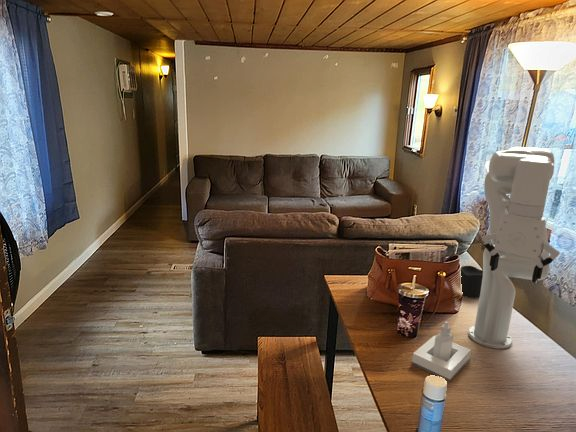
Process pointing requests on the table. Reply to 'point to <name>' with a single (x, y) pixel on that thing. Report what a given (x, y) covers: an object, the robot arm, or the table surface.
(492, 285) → the robot arm
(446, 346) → the eye dropper bottle
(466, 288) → the pen holder
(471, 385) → the table surface
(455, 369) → the bottle holder
